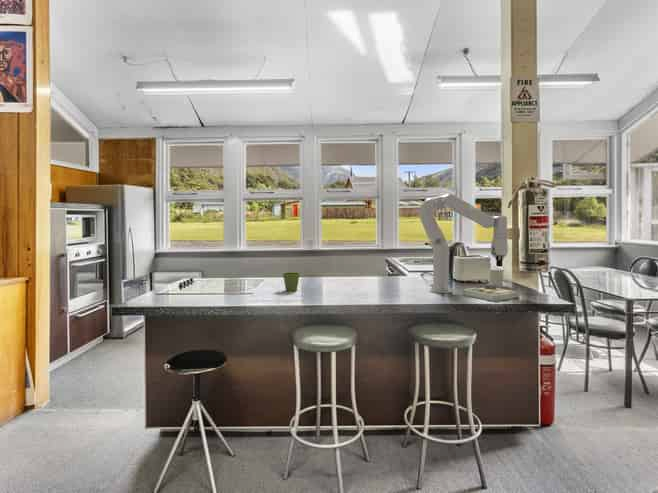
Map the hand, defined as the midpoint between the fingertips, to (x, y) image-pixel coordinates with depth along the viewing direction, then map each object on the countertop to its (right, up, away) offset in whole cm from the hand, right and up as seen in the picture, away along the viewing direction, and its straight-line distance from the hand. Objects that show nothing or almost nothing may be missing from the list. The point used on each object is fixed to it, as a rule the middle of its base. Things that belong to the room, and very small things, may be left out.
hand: (499, 266), depth 249 cm
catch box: (-12, -18, -7) cm, 23 cm away
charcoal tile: (-4, -14, +4) cm, 15 cm away
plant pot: (-128, -17, +17) cm, 130 cm away
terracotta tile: (-9, -16, -14) cm, 23 cm away
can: (+10, -15, +29) cm, 34 cm away
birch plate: (-2, -18, -2) cm, 18 cm away
